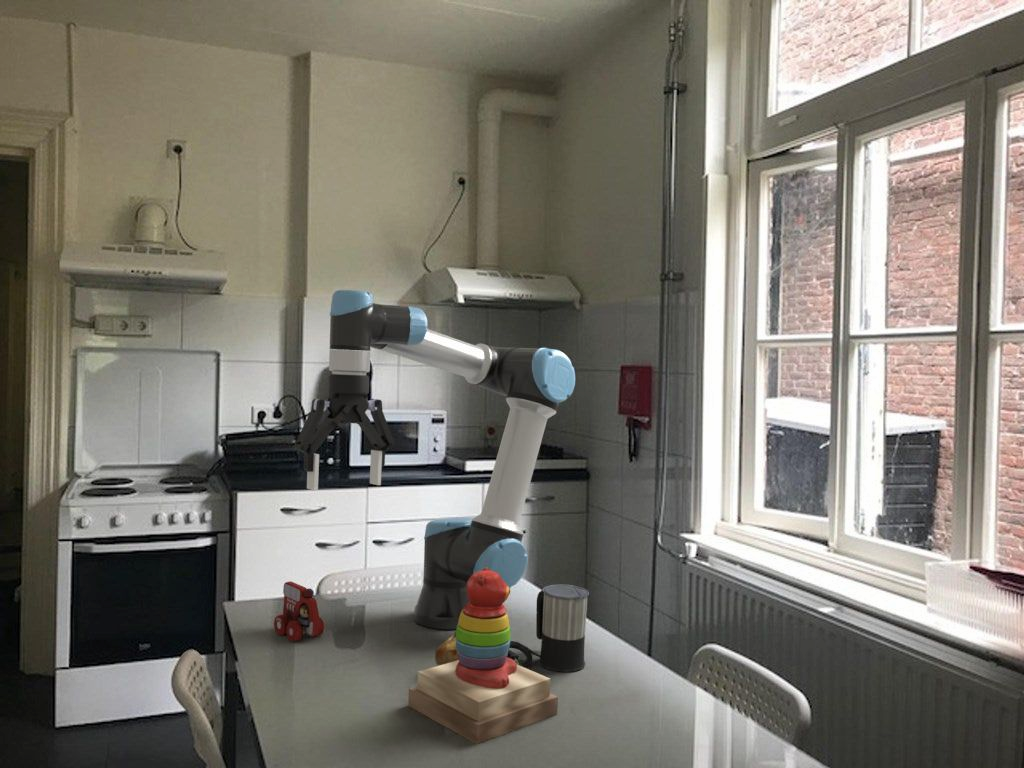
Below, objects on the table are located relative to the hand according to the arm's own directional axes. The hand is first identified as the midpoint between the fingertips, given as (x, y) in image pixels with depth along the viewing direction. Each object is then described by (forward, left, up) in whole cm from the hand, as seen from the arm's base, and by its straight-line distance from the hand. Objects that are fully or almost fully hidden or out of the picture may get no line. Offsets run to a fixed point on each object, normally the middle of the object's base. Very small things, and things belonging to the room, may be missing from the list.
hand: (344, 486), depth 155 cm
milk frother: (-34, +21, -35) cm, 53 cm away
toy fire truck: (-4, -22, -35) cm, 42 cm away
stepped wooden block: (-10, +30, -35) cm, 47 cm away
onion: (-17, +14, -35) cm, 41 cm away
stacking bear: (-10, +30, -29) cm, 43 cm away
